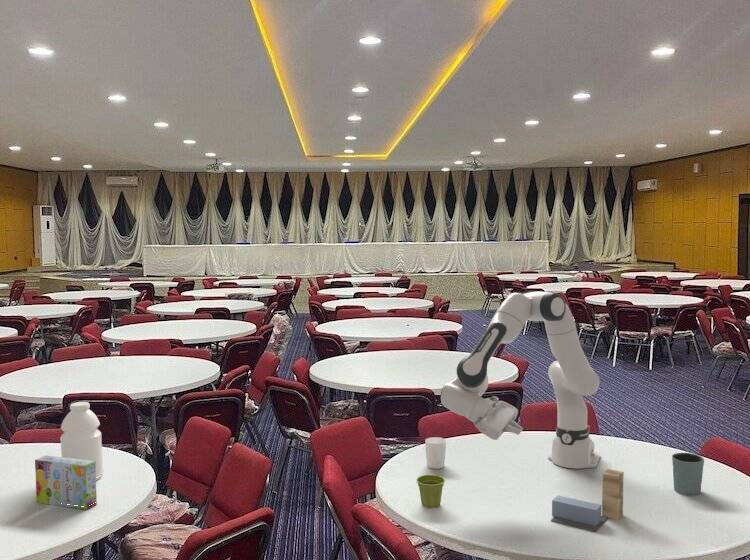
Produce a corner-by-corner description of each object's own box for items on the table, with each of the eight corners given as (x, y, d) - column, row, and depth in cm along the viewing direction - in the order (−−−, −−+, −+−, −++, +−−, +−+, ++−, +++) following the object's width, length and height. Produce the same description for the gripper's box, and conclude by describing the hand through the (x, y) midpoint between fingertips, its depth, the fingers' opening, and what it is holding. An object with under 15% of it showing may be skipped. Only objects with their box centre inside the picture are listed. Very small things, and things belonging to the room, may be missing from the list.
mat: (564, 508, 234) (564, 507, 234) (607, 518, 226) (607, 517, 226) (550, 521, 224) (550, 520, 224) (595, 531, 216) (595, 531, 216)
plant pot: (437, 513, 231) (437, 486, 231) (411, 507, 236) (411, 481, 236) (449, 503, 239) (449, 477, 239) (424, 497, 244) (424, 472, 243)
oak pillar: (606, 511, 232) (607, 468, 231) (622, 514, 229) (623, 471, 228) (602, 516, 228) (602, 473, 227) (617, 520, 225) (618, 476, 224)
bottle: (53, 482, 261) (50, 406, 259) (82, 469, 274) (79, 397, 272) (83, 487, 256) (80, 410, 254) (111, 474, 269) (108, 400, 267)
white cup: (444, 469, 271) (444, 444, 270) (423, 468, 273) (423, 442, 272) (446, 463, 279) (446, 437, 278) (426, 461, 280) (426, 436, 280)
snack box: (98, 504, 241) (96, 460, 239) (86, 510, 235) (84, 465, 234) (47, 496, 248) (45, 454, 246) (35, 503, 242) (33, 459, 241)
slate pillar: (557, 495, 232) (601, 504, 224) (557, 510, 232) (601, 520, 224) (552, 500, 227) (596, 510, 219) (551, 515, 228) (595, 526, 220)
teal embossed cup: (703, 488, 251) (704, 454, 250) (703, 498, 242) (704, 463, 241) (671, 484, 255) (672, 451, 254) (670, 493, 246) (671, 459, 245)
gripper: (474, 416, 235) (513, 436, 229) (496, 394, 252) (533, 412, 246) (469, 432, 237) (507, 452, 232) (491, 409, 254) (527, 427, 249)
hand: (520, 431), depth 239 cm, fingers closed
